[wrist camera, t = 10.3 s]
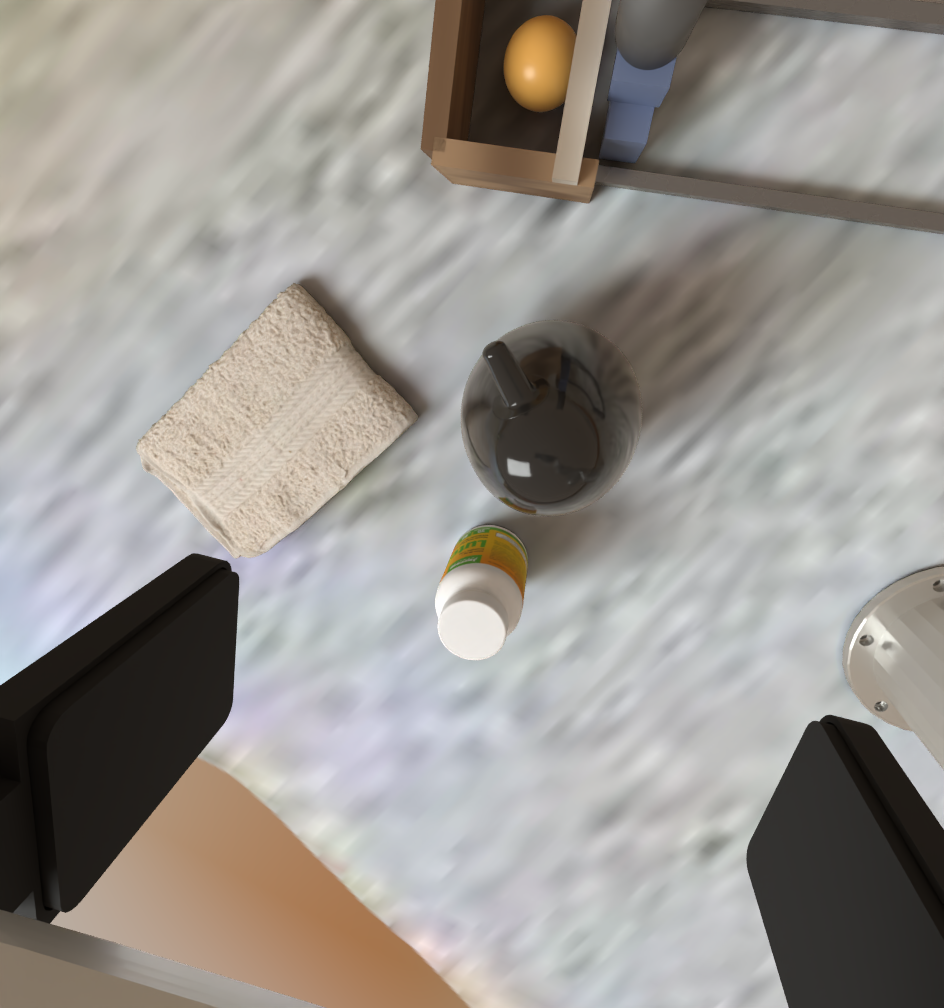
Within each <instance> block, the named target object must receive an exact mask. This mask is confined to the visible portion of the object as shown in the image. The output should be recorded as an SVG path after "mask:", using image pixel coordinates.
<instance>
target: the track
mask: <svg viewBox="0 0 944 1008" xmlns="http://www.w3.org/2000/svg"><path fill="white" fill-rule="evenodd" d="M705 7H713V8H722V9H731V10H739V11H748V12H756V13H765V14H773V15H782V16H790V17H799V18H807V19H816V20H824V21H833V22H841V23H850V24H858V25H867V26H875V27H884V28H892V29H901V30H909V31H918V32H926V33H935V34H943V35H944V4H941V3H932V2H923V1H915V0H707V2H706V4H705ZM595 184H597V185H604V186H611V187H618V188H624V189H631V190H638V191H645V192H652V193H659V194H666V195H673V196H680V197H687V198H694V199H701V200H708V201H715V202H722V203H729V204H736V205H743V206H750V207H757V208H764V209H771V210H778V211H785V212H792V213H799V214H806V215H813V216H820V217H827V218H833V219H840V220H847V221H854V222H861V223H868V224H875V225H882V226H889V227H896V228H903V229H910V230H917V231H924V232H931V233H938V234H944V214H942V213H935V212H928V211H921V210H914V209H907V208H900V207H893V206H886V205H878V204H871V203H864V202H857V201H850V200H843V199H836V198H829V197H822V196H815V195H807V194H800V193H793V192H786V191H779V190H772V189H765V188H758V187H751V186H744V185H736V184H729V183H722V182H715V181H708V180H701V179H694V178H687V177H680V176H673V175H665V174H658V173H651V172H644V171H637V170H630V169H623V168H616V167H609V166H602V165H598V169H597V174H596V179H595Z"/></svg>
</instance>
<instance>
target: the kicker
mask: <svg viewBox="0 0 944 1008" xmlns="http://www.w3.org/2000/svg"><path fill="white" fill-rule="evenodd" d="M706 2H707V0H620V3H619V8H618V13H617V18H616V24H615V40H616V44H617V52H616V58H615V63H614V68H613V73H612V78H611V83H610V88H609V94H608V99H607V101H610V102H609V107H608V112H607V118H606V123H605V128H604V133H603V138H602V143H601V148H600V153H599V159H606V160H614V161H621V162H628V163H635V162H636V161H637V159H638V157H639V156H640V154H641V152H642V151H643V149H644V147H645V146H646V144H647V139H648V135H649V130H650V126H651V121H652V117H653V112H654V107H660V105H661V103H662V101H663V99H664V97H665V95H666V94H667V92H668V90H669V88H670V84H671V79H672V75H673V71H674V66H675V62H676V57H677V55H678V54H679V53H680V52H681V50H682V49H683V47H684V45H685V44H686V42H687V40H688V38H689V36H690V34H691V32H692V30H693V28H694V26H695V24H696V22H697V20H698V18H699V16H700V14H701V12H702V10H703V8H704V6H705V4H706Z"/></svg>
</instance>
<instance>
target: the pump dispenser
mask: <svg viewBox="0 0 944 1008" xmlns="http://www.w3.org/2000/svg"><path fill="white" fill-rule="evenodd" d="M641 424H642V398H641V392H640V387H639V384H638V380H637V378H636V375H635V373H634V370H633V368H632V366H631V365H630V363H629V361H628V360H627V358H626V357H625V355H624V354H623V353H622V352H621V350H620V349H619V348H618V347H617V346H616V345H615V344H614V343H613V342H612V341H610V340H609V339H608V338H607V337H605V336H604V335H602V334H601V333H599V332H598V331H596V330H594V329H592V328H590V327H587V326H585V325H582V324H579V323H575V322H570V321H563V320H545V321H538V322H533V323H529V324H526V325H523V326H520V327H518V328H516V329H514V330H512V331H510V332H508V333H506V334H505V335H503V336H502V337H500V338H499V339H498V340H496V341H494V342H491V343H490V344H488V345H487V346H486V347H485V348H484V350H483V353H482V356H481V357H480V358H479V360H478V361H477V363H476V364H475V366H474V367H473V369H472V371H471V373H470V375H469V378H468V380H467V383H466V386H465V389H464V393H463V398H462V405H461V432H462V438H463V443H464V447H465V450H466V453H467V456H468V458H469V461H470V463H471V465H472V467H473V469H474V471H475V473H476V474H477V476H478V478H479V479H480V481H481V482H482V483H483V485H484V486H485V487H486V488H487V490H488V491H489V492H490V493H491V494H492V495H493V496H494V497H496V498H497V499H498V500H499V501H501V502H502V503H504V504H505V505H507V506H509V507H510V508H512V509H515V510H517V511H519V512H522V513H526V514H530V515H535V516H560V515H565V514H569V513H573V512H576V511H579V510H581V509H583V508H585V507H587V506H589V505H591V504H593V503H594V502H596V501H597V500H599V499H600V498H602V497H603V496H604V495H605V494H606V493H608V492H609V491H610V490H611V489H612V488H613V487H614V485H615V484H616V483H617V482H618V481H619V479H620V478H621V477H622V475H623V474H624V472H625V471H626V469H627V467H628V466H629V464H630V462H631V460H632V457H633V455H634V453H635V450H636V447H637V444H638V440H639V436H640V431H641Z"/></svg>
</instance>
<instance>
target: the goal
mask: <svg viewBox="0 0 944 1008" xmlns="http://www.w3.org/2000/svg"><path fill="white" fill-rule="evenodd" d="M485 1H486V0H436V2H435V12H434V22H433V32H432V42H431V52H430V62H429V72H428V82H427V92H426V102H425V112H424V122H423V132H422V142H421V150H422V151H423V152H424V153H426V154H427V155H428V156H429V157H430V158H431V159H432V162H431V165H432V166H433V167H434V168H436V169H437V170H438V171H439V172H440V173H441V174H442V175H443V176H445V177H446V178H447V179H448V180H449V181H450V182H451V183H453V184H460V185H466V186H473V187H480V188H487V189H494V190H501V191H507V192H514V193H521V194H528V195H535V196H542V197H549V198H555V199H562V200H569V201H576V202H583V203H589V202H590V198H591V195H592V192H593V189H594V184H595V179H596V174H597V169H598V164H599V160H597V159H590V158H583V152H584V147H585V141H586V136H587V131H588V125H589V120H590V115H591V109H592V104H593V99H594V93H595V88H596V83H597V77H598V72H599V67H600V61H601V56H602V51H603V45H604V40H605V35H606V29H607V24H608V19H609V13H610V8H611V3H612V0H583V2H582V8H581V13H580V19H579V25H578V31H577V36H576V42H575V48H574V54H573V60H572V65H571V71H570V77H569V83H568V88H567V94H566V100H565V106H564V111H563V117H562V123H561V129H560V135H559V140H558V146H557V152H556V154H554V153H547V152H540V151H533V150H526V149H519V148H511V147H504V146H497V145H490V144H483V143H476V142H469V141H468V137H469V129H470V121H471V113H472V105H473V97H474V89H475V81H476V73H477V65H478V57H479V49H480V41H481V33H482V25H483V17H484V9H485Z"/></svg>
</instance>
